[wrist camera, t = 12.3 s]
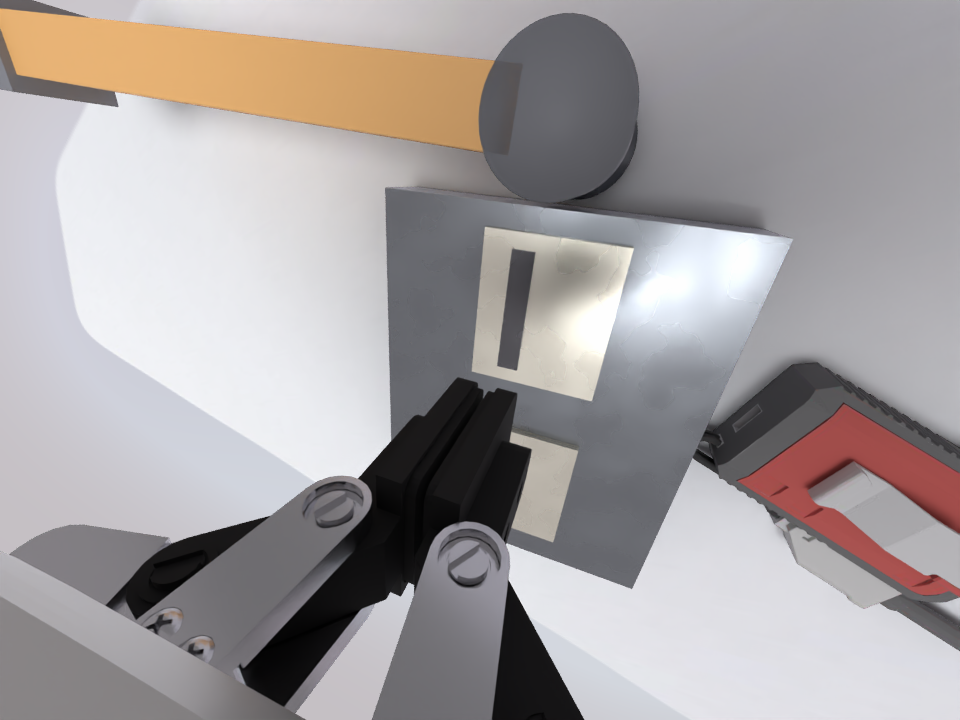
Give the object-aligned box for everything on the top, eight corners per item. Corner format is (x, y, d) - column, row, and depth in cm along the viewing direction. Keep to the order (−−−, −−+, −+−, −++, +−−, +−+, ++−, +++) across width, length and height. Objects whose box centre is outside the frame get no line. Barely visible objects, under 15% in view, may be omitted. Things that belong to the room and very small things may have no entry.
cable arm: (654, 61, 11) (667, 14, 8) (611, 207, 13) (608, 216, 10) (54, 3, 17) (-75, -37, 13) (86, 110, 18) (-21, 96, 15)
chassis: (765, 229, 15) (799, 240, 12) (630, 546, 25) (632, 596, 22) (416, 186, 19) (379, 187, 16) (413, 472, 29) (389, 506, 26)
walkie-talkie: (652, 451, 22) (971, 653, 20) (659, 508, 18) (1050, 760, 17) (781, 334, 17) (1201, 585, 16) (826, 377, 13) (1383, 711, 12)
